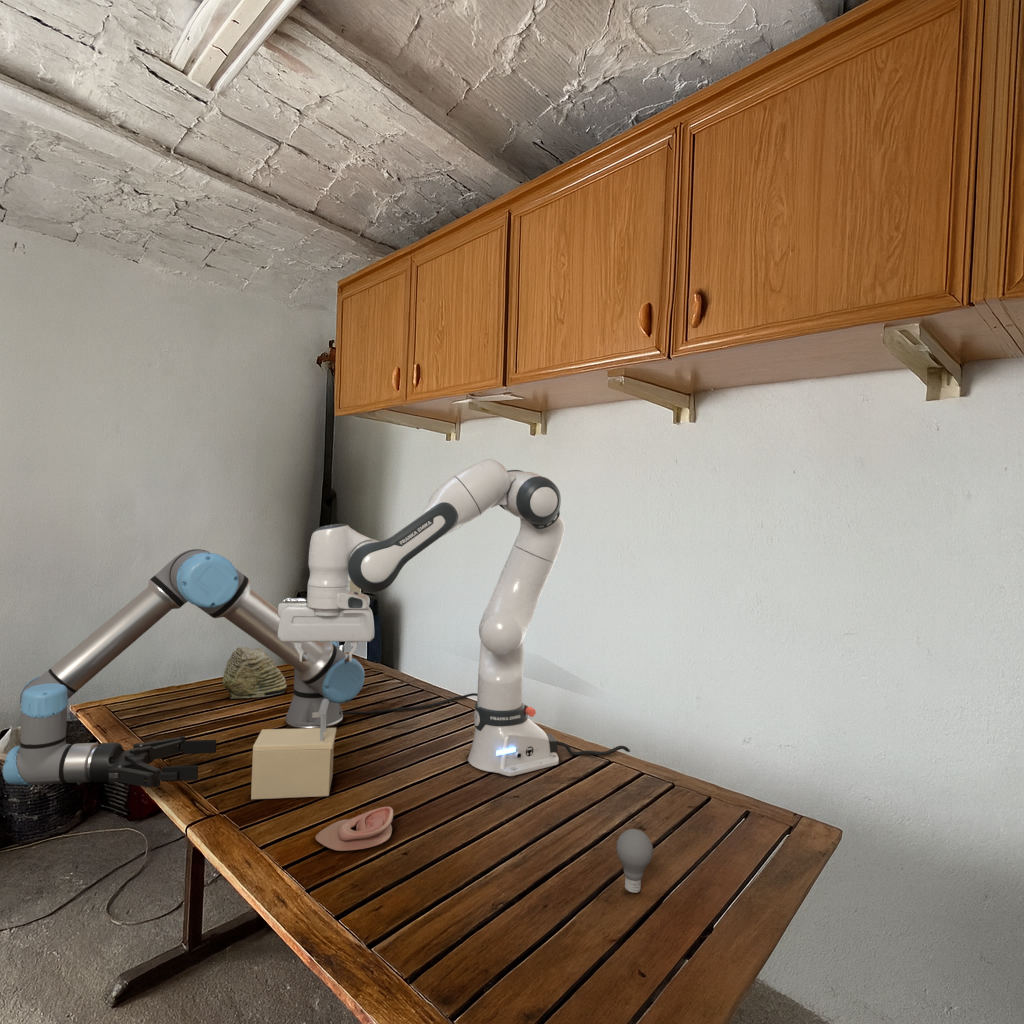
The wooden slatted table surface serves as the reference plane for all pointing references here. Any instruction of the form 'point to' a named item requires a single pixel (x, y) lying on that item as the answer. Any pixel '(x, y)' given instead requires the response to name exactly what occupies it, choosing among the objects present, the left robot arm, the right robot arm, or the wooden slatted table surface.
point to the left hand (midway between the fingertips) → (207, 758)
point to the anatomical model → (358, 831)
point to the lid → (298, 736)
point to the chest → (291, 773)
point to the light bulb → (634, 857)
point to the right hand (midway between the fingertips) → (326, 661)
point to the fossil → (252, 674)
